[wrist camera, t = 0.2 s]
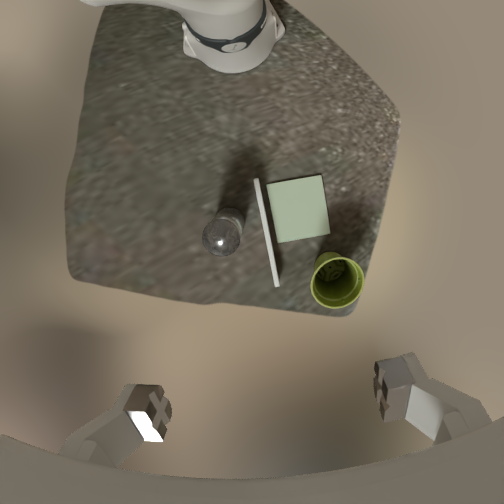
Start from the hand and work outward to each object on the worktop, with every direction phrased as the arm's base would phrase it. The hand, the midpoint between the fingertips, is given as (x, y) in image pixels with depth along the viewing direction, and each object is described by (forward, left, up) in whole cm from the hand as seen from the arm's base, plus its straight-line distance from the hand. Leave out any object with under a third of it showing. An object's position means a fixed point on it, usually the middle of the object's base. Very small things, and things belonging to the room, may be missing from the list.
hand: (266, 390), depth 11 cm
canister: (+3, -8, -48) cm, 48 cm away
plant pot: (+15, +9, -48) cm, 51 cm away
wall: (+6, -1, -48) cm, 48 cm away
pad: (+3, +5, -48) cm, 48 cm away
